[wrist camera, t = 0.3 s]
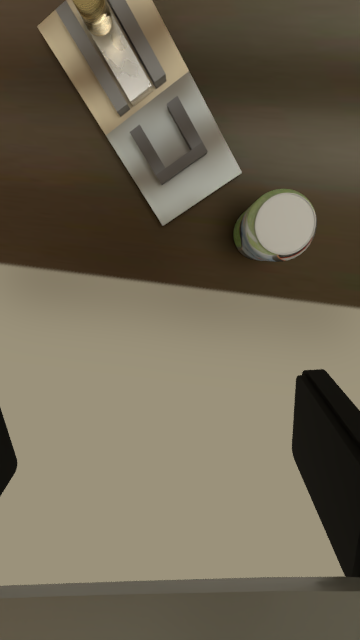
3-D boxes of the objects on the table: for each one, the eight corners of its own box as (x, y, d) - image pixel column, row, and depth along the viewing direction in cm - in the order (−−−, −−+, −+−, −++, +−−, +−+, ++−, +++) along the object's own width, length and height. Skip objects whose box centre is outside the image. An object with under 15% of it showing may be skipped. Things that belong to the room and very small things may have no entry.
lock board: (46, 37, 31) (27, 15, 27) (128, -37, 29) (120, -70, 25) (163, 224, 37) (161, 227, 33) (238, 174, 35) (245, 171, 31)
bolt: (82, 20, 29) (55, -29, 23) (103, 2, 28) (81, -53, 22) (133, 106, 31) (120, 82, 25) (153, 91, 31) (145, 63, 25)
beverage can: (243, 266, 38) (268, 291, 27) (219, 209, 36) (235, 211, 25) (292, 243, 37) (339, 259, 26) (270, 183, 35) (311, 172, 24)
